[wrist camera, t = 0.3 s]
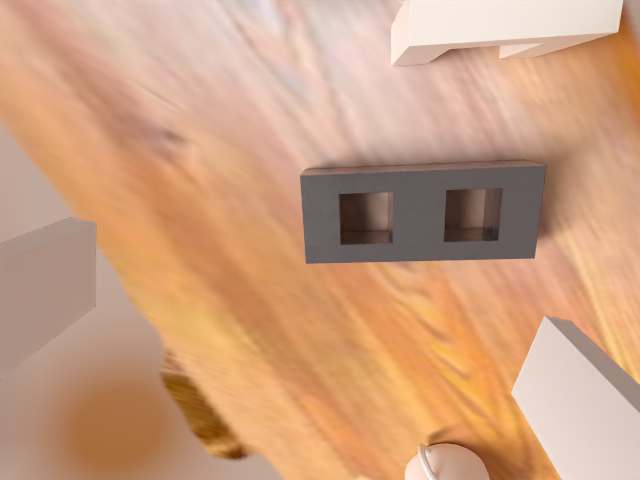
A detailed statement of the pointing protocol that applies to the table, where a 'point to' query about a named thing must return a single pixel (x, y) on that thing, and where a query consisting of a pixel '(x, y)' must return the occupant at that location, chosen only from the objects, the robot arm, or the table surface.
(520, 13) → the white arch
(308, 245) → the cinder block
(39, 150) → the table surface
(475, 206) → the table surface
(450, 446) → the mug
